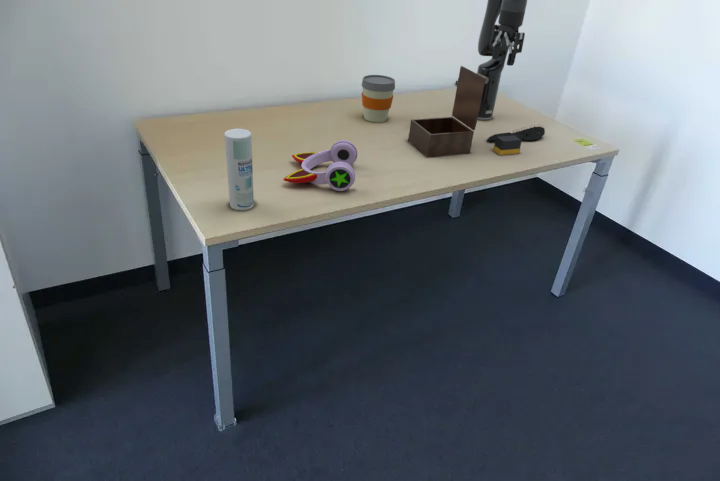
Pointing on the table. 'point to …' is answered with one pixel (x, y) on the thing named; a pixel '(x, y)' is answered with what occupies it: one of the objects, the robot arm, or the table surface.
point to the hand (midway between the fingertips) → (502, 62)
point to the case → (440, 136)
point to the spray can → (239, 168)
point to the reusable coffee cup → (377, 97)
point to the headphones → (336, 174)
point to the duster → (507, 145)
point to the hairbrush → (523, 134)
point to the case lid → (468, 97)
